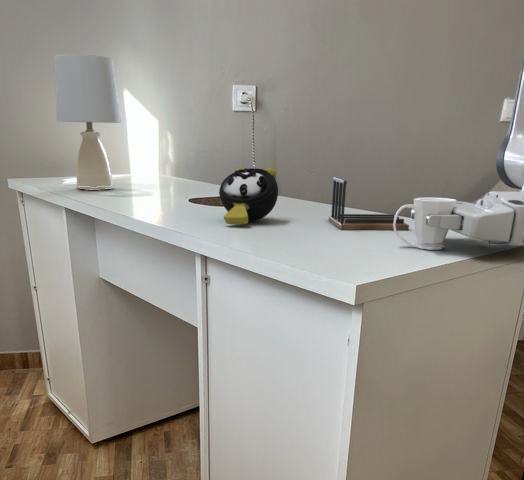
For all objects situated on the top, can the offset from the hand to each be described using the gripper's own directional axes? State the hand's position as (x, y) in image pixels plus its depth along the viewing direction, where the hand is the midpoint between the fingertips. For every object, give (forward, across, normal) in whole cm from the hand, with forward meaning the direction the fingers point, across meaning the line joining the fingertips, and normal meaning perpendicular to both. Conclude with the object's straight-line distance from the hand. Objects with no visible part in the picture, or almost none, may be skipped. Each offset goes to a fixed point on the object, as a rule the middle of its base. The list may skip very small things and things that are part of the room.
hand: (419, 217), depth 93 cm
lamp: (+70, -94, +5) cm, 118 cm away
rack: (+2, -24, +5) cm, 25 cm away
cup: (-1, 0, +5) cm, 5 cm away
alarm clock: (+27, -29, +5) cm, 40 cm away
